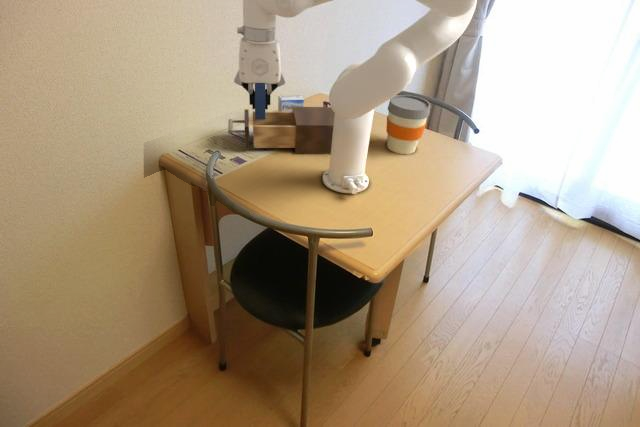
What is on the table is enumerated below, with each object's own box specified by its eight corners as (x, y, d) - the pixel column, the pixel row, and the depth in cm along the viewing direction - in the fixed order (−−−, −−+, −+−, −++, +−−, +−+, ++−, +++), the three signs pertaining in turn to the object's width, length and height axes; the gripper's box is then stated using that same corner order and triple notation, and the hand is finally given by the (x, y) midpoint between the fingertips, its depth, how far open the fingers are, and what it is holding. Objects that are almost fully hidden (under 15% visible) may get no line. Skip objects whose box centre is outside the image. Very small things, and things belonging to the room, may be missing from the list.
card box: (255, 119, 114) (254, 85, 108) (254, 108, 119) (254, 75, 114) (265, 119, 114) (265, 85, 109) (264, 108, 120) (264, 75, 114)
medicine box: (280, 125, 148) (280, 100, 142) (277, 119, 151) (278, 95, 146) (303, 124, 150) (304, 99, 144) (300, 118, 153) (301, 94, 148)
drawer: (228, 150, 129) (227, 126, 125) (229, 131, 139) (228, 109, 135) (304, 150, 133) (305, 127, 128) (300, 131, 142) (301, 110, 138)
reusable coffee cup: (400, 160, 134) (410, 113, 125) (373, 143, 141) (380, 98, 133) (429, 151, 140) (440, 106, 131) (401, 135, 148) (409, 92, 139)
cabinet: (295, 153, 132) (296, 125, 127) (291, 133, 143) (292, 106, 138) (356, 153, 135) (359, 125, 130) (347, 133, 146) (350, 107, 141)
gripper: (224, 36, 101) (227, 112, 111) (295, 39, 103) (292, 113, 114) (225, 28, 107) (228, 101, 117) (292, 31, 109) (289, 102, 120)
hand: (259, 106), depth 116 cm, fingers closed on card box, 2 cm apart
